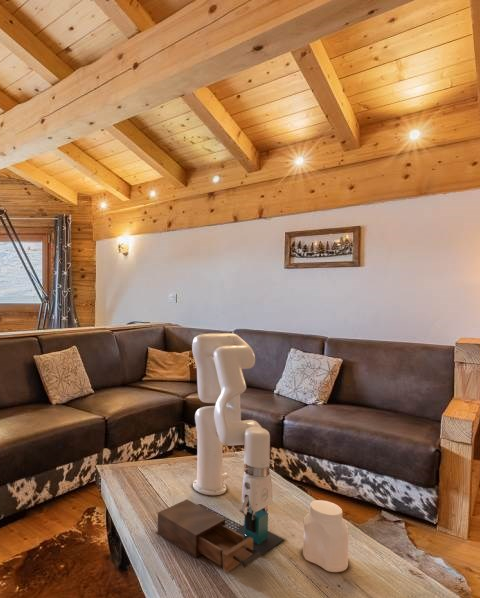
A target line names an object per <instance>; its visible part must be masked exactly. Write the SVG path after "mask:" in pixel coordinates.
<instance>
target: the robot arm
mask: <svg viewBox="0 0 480 598" xmlns="http://www.w3.org/2000/svg"><path fill="white" fill-rule="evenodd" d="M191 349H192V356H193V359H194V362H195V366H196V384H197V385H196V386H197V395H198V399H199V400H200V402H202V403H206V404H215V405H207V406H201V407H200V408H198V409H197V410H196V411H195V412H194V413H195V414H194V423H195V427H196V439H197V440H196V442H197V443H196V451H197V452H196V458H197V460H196V479H194V480H193V482H192V488H193V490H195V491H196V492H198V493H200V494H203V495H206V496H220V495H223V494H225V493H226V492H227V484H225V483H224V481H225V480H226V479H228V478H229V477H230V474H229V473H228V472H224V473H223V457H224V456H223V453H224V451H223V445H224V446H229V447H232V446H233V447H234V446H243V478H242V487H241V504H242V505H241V507H240V512H241V513H242V514H243V515H244V518H245V517H246V529H247V530H249V531H251V532H253V533H255V532H256V520H255V519H254V518H255V512H257V511H259V510H263V511H265V512H267V513H268V510H269V509H268V508H269V507H268V506H270V505H271V504H272V503H273V481H272V476H271V471H270V469H271V467H270V465H271V464H270V462H271V461H270V459H271V457H270V456H271V434H270V432H269V430H267V429H266V428H264V427H262V426H261V424H260V423H259V422H257V421H256V420H255V419H244V420H242V410H241V409H242V408H241V407H242V406H241V394H243V393H244V392H245V391H247V384H246V380H245V375H244V372H243V370H250V369H252V368H253V367H254V366H255V364H256V355H255V352H254V350H253V348H252V346H251V345H249V344H248V342H246V341H245V340H244V339H243V338H242V337H240V336H239V335H238V334H236V333H232V332H226V333H223V332H222V333H218V332H217V333H216V332H215V333H214V332H213V333H202V334H198V335H196V336H195V337H193V340H192V344H191ZM249 510H251V511H252V514H251V513H250V512H249Z"/></svg>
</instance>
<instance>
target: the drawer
mask: <svg viewBox="0 0 480 598" xmlns="http://www.w3.org/2000/svg"><path fill="white" fill-rule="evenodd" d="M198 552H200V553H201V555H203V556H204V557H206V558H207V559H209V560H210V561H212V562H214V563H215V564H217V565H218V566H222V571H223V572H224V573H228V572H230V571H231V570H233V569H235V568H236V567H237V566H240V564H241V566H242V567H243V568H247V567H248V566H250V565H251V564H252V563H254V562H256V561H257V560H258V559H260V558H261V557H262V556H261V553H260V552H259V551H257V552H255V551H253V538H251V537H249V538H247V539H245V540H244V536H243V535H241V534H240V533H238V532H236V530H234V529H233V528H230V527H228V526H226V524H225V525H223V524H220V525H218V526H217V527H215V528H213V529H211V530H209V531H208V532H206V533H204V534H202V535H200V536H199V537H198Z"/></svg>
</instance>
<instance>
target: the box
mask: <svg viewBox="0 0 480 598" xmlns="http://www.w3.org/2000/svg"><path fill="white" fill-rule="evenodd" d="M249 512H250V513H251V514H252V511H251V510H249ZM254 519H255V520H256V532H255V533H253V532H251V531H249V530H247V529H246V517H245V516H244V521H243V524H244V525H243V526H244V534H246V535H247V536H245V535H244V537H246V538H249V537H251V538H253V542H255V543H257V544H260V543H261V542H263V541H264V540H266V539H267V538H268V531H269V512H268V511H267V512H265V511H263V510H259V511H257V512H255V518H254Z"/></svg>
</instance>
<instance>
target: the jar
mask: <svg viewBox="0 0 480 598" xmlns="http://www.w3.org/2000/svg"><path fill="white" fill-rule="evenodd" d="M349 532H350V531H349V526H348V525H347V523H346V521H345V520H344V518H343V509H342V507H340V506H339V505H338V504H336V503H334V502H331V501H329V500H323V499H317V500H313V501H311V502H310V504H309V512H307V514H306V515H305V516H304V517H303V548H302V555H303V557H304V559H305V560H306V561H308V562H310V563H313V564H315V565H317V566H319V567H320V568H322V569H323V570H324V571H327V572H331V573H341V572H345V570H347V568H348V567H349Z"/></svg>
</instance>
